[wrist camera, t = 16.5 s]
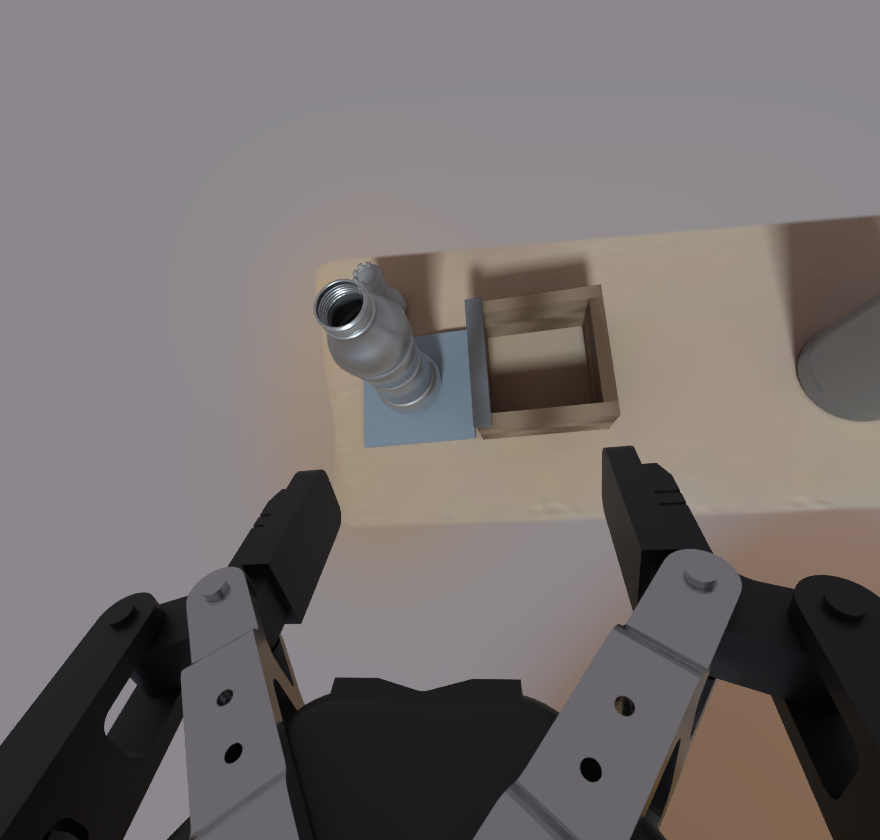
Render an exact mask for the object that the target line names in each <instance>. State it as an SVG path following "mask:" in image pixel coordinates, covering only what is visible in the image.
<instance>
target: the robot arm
mask: <svg viewBox="0 0 880 840" xmlns="http://www.w3.org/2000/svg"><path fill="white" fill-rule="evenodd" d="M797 370H798V378H799V380H800V383H801V385H802V388H803V389H804V391H805V392H806V394H807V395H808V397H809V398H810V399H811V400H812V401H813V402H814V403H815V404H816V405H817V406H819V407H820V408H822V409H823V410H825V411H826V412H828V413H830V414H833V415H835V416H837V417H840V418H844V419H848V420H853V421H873V420H879V419H880V293H878V294H877V295H875V296H874V297H872V298H871V299H869V300H868V301H866V302H865V303H863V304H862V305H860V306H859V307H857V308H856V309H854V310H853V311H851V312H850V313H848V314H847V315H845V316H843V317H842V318H840V319H839V320H837V321H836V322H834V323H833V324H831V325H830V326H828V327H827V328H825V329H824V330H822V331H821V332H819V333H818V334H816V335H815V336H814V337H813V338H811V339H810V340H809V341H808V342H807V344H806V345H805V346H804V348H803V349H802V351H801V353H800V356H799V359H798V366H797ZM602 501H603V508H604V513H605V517H606V520H607V523H608V527H609V530H610V534H611V537H612V541H613V544H614V548H615V551H616V554H617V558H618V561H619V565H620V568H621V571H622V575H623V578H624V582H625V585H626V589H627V592H628V596H629V599H630V603H631V606H632V609H633V613H632V615H631V617H630V618H629V620H628V621H627V623H626V624H625V625H624V626H622V625H620V624H618V625H616V626H615V627H614V628H613V629H612V630H611V632H610V633H609V635H608V636H607V638H606V639H605V641H604V643H603V644H602V646H601V647H600V649H599V651H598V652H597V654H596V655H595V657H594V659H593V660H592V662H591V663H590V665H589V667H588V668H587V670H586V671H585V673H584V675H583V676H582V678H581V680H580V681H579V683H578V684H577V686H576V688H575V689H574V691H573V692H572V694H571V696H570V697H569V699H568V700H567V702H566V704H565V705H564V707H563V709H562V710H561V712H560V713H559V712H557V711H556V710H554V709H553V708H551V707H549V706H548V705H546V704H545V703H542V702H540V701H538V700H536V699H533V698H530V697H527V696H523V693H522V686H521V680H512V679H510V680H507V679H505V680H504V679H471V680H467V681H463V682H459V683H455V684H452V685H448V686H444V687H440V688H436V689H432V690H429V691H418V690H414V689H411V688H408V687H405V686H402V685H399V684H395V683H392V682H389V681H386V680H383V679H380V678H335V680H334V683H333V686H332V690H331V693H330V694H328V695H325V696H322V697H320V698H317V699H315V700H313V701H312V702H309V703H308V704H306V705H305V704H304V702H303V699H302V697H301V694H300V691H299V688H298V685H297V681H296V678H295V675H294V672H293V669H292V665H291V662H290V659H289V656H288V653H287V649H286V646H285V643H284V640H283V638H282V636H281V634H280V633H281V631H282V629H283V626H284V624H301V623H302V620H303V618H304V615H305V613H306V610H307V608H308V605H309V603H310V600H311V598H312V595H313V593H314V590H315V588H316V586H317V583H318V580H319V578H320V575H321V573H322V571H323V568H324V566H325V563H326V561H327V558H328V555H329V553H330V551H331V548H332V546H333V543H334V541H335V538H336V536H337V533H338V531H339V528H340V524H341V510H340V507H339V504H338V501H337V499H336V496H335V494H334V491H333V488H332V486H331V483H330V481H329V478H328V476H327V474H326V472H325V471H324V470H309V471H299V472H297V473H296V474H295V475H294V477H293V479H292V480H291V482H290V484H289V485H288V487H287V489H282V490H281V491H280V492H279V493H277V494H276V495H275V496H274V497H273V498H272V499H271V500H270V501H269V502H268V503H267V505H266V506H265V508H264V510H263V511H262V513H261V514H260V517H259V518H258V519H257V521H256V522H255V524H254V528H252V529H251V530H250V532H249V533H248V535H247V537H246V538H245V540H244V541H243V543H242V545H241V546H240V548H239V549H238V551H237V553H236V554H235V556H234V558H233V559H232V561H231V562H230V564H229V565H228V567H225V568H221V569H218V570H216V571H214V572H212V573H210V574H208V575H207V576H205V577H204V578H203V579H201V580H200V581H199V582H198V583H197V584H196V585H195V586H194V587H193V589H192V590H191V592H190V593H189V595H188V596H186V597H182V598H179V599H176V600H173V601H170V602H166V603H163V604H159V603H158V602H157V601H156V599H155V598H154V597H153V596H152V595H151V594H149V593H136V594H133V595H130V596H128V597H125V598H123V599H121V600H120V601H118V602H117V603H115V604H114V605H112V606H111V607H110V608H108V609H107V610H106V611H105V612H104V613H103V614H102V615H101V616H100V617H99V619H98V620H97V621H96V623H95V624H94V625H93V626H92V628H91V629H90V630H89V632H88V633H87V634H86V635H85V637H84V638H83V639H82V641H81V642H80V643H79V645H78V646H77V647H76V648H75V650H74V651H73V652H72V654H71V655H70V656H69V658H68V659H67V660H66V661H65V663H64V664H63V665H62V667H61V668H60V669H59V670H58V672H57V673H56V674H55V676H54V677H53V678H52V679H51V681H50V682H49V683H48V685H47V686H46V687H45V688H44V690H43V691H42V692H41V694H40V695H39V696H38V698H37V699H36V700H35V701H34V703H33V704H32V705H31V707H30V708H29V710H28V711H27V712H26V713H25V714H24V716H23V717H22V718H21V720H20V721H19V722H18V723H17V725H16V726H15V727H14V729H13V730H12V731H11V733H10V734H9V735H8V736H7V738H6V739H5V740H4V742H3V743H2V744H1V746H0V840H123V839H124V836H125V834H126V832H127V830H128V828H129V826H130V824H131V822H132V820H133V818H134V816H135V814H136V812H137V810H138V808H139V806H140V804H141V802H142V800H143V798H144V796H145V794H146V792H147V790H148V788H149V785H150V783H151V781H152V779H153V777H154V775H155V773H156V771H157V769H158V767H159V765H160V763H161V761H162V759H163V757H164V755H165V753H166V751H167V749H168V746H169V745H170V743H171V741H172V739H173V737H174V735H175V732H176V731H177V728H178V727H179V724H180V722H181V720H182V718H184V732H185V748H186V763H187V776H188V791H189V806H190V817H189V818H188V819H187V820H186V821H185V822H184V823H183V824H182V825H181V826H180V827H179V828H178V829H177V830H176V831H175V832H174V833H173V834H172V835H171V836H170V837H169V838H168V839H167V840H666V838H665V837H664V836H663V835H662V833H661V832H660V831H659V828H660V825H661V822H662V820H663V818H664V816H665V813H666V811H667V808H668V805H669V803H670V801H671V798H672V795H673V793H674V790H675V788H676V785H677V783H678V780H679V777H680V775H681V772H682V769H683V766H684V763H685V759H686V756H687V754H688V751H689V748H690V746H691V743H692V741H693V738H694V736H695V733H696V731H697V728H698V726H699V723H700V721H701V719H702V716H703V714H704V711H705V709H706V706H707V704H708V701H709V699H710V696H711V694H712V692H713V689H714V687H715V684H716V682H717V679H720V680H724V681H727V682H730V683H733V684H737V685H741V686H743V687H747V688H750V689H753V690H756V691H760V692H763V693H766V694H770V695H771V697H772V698H773V701H774V703H775V706H776V708H777V710H778V713H779V715H780V717H781V719H782V722H783V724H784V726H785V729H786V731H787V734H788V736H789V738H790V741H791V743H792V745H793V748H794V750H795V752H796V755H797V757H798V759H799V761H800V764H801V766H802V768H803V771H804V773H805V775H806V778H807V780H808V782H809V785H810V787H811V789H812V792H813V794H814V796H815V799H816V801H817V803H818V806H819V808H820V810H821V813H822V815H823V817H824V819H825V822H826V824H827V827H828V829H829V831H830V834H831V836H832V838H833V840H880V597H878V596H877V595H876V594H874V593H873V592H871V591H870V590H868V589H866V588H865V587H863V586H861V585H859V584H857V583H854V582H852V581H849V580H847V579H843V578H840V577H835V576H829V575H814V576H809V577H806V578H804V579H802V580H801V581H799V583H798V584H797V585H796V587H795V589H791V588H787V587H782V586H777V585H773V584H768V583H763V582H759V581H755V580H752V579H749V578H746V577H744V576H741V575H739V574H738V573H737V572H736V570H735V569H734V568H733V567H732V566H731V565H730V564H729V563H728V562H726V561H725V560H724V559H722V558H720V557H718V556H716V555H714V554H713V552H712V551H711V549H710V547H709V545H708V543H707V541H706V539H705V537H704V536H703V534H702V532H701V530H700V528H699V526H698V524H697V522H696V520H695V518H694V516H693V514H692V513H691V511H690V509H689V507H688V505H686V501H685V499H684V497H683V495H682V493H680V490H679V488H678V486H677V484H676V482H675V480H674V478H673V476H672V475H671V474H670V473H669V472H667V471H666V470H665V469H664V468H662V467H661V466H660V465H658V464H657V463H649V464H641V461H640V459H639V457H638V455H637V453H636V450H635V448H634V447H633V446H621V447H608V448H603V451H602ZM129 678H131V679H132V680H133V681H134V682H135V683H136V684H137V686H136V688H135V690H134V691H133V693H132V695H131V696H130V698H129V700H128V701H127V703H126V704H125V706H124V708H123V709H122V711H121V713H120V714H119V716H118V718H117V719H116V721H115V723H114V724H113V726H112V728H111V729H110V731H109V733H108V734H107V736H106V735H105V732H104V722H105V718H106V716H107V713H108V711H109V710H110V708H111V706H112V705H113V703H114V702H115V700H116V698H117V697H118V695H119V694H120V692H121V690H122V689H123V687H124V686H125V684H126V682H127V681H128V679H129Z"/></svg>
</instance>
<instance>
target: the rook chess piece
mask: <svg viewBox="0 0 880 840" xmlns="http://www.w3.org/2000/svg"><path fill="white" fill-rule="evenodd" d="M358 268H359V269H358V270H354V272H353V275H354V278H353V281H355V282H357V283H358V284H359V285H361V286H362V288H363V289H364V290H365V291H366V292H368V293H369V294H370V295H379V296H383V297H385V298H387V299H389V300H391V301H393V302H395V303H396V304H397V305H399V306H400V307H401V308H402V310H403V311H404V312H406V309H407V305H406V300H405V298H404V297H403V295H402V294H401V293H400V291H398V290H396V289H395V288H393V287H389V286H387V285H386V280H385V279H384V276H383V271H382V270H381V268H380V267H379V266H377V265H375V264H371V263H370V262H366V265H362V264H359V265H358Z"/></svg>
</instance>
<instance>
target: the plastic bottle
mask: <svg viewBox="0 0 880 840" xmlns="http://www.w3.org/2000/svg"><path fill="white" fill-rule="evenodd" d="M314 315H315V317H316V319H317V321H318V323H319V324H320V325H321V326H322V327H323V328H324V329H325V331H326V332H327V342H328V347H329V350H330V353H331V355H332V358H333V359H334V361H335V362H336V364H337V365H338V366H339V367H341V368H342V369H343V370H345V371H346V372H348V373H350V374H351V375H354V376H356V377H358V378H360V379H363V380H365V381H366V382H368V383H369V384H371V385H372V386H373V387H374V388H375V389H376V391H377V393H378V395H379V397H380V399H381V400H382V402H383V403H384V405H385V406H387V407H388V408H389V409H390V410H392V411H394V412H397V413H400V414H405V415H414V414H418V413H421V412H423V411H425V410H427V409H428V408H429V407H431V406H432V405H433V404H434V402H435V401H436V399H437V398H438V396H439V393H440V389H441V376H440V372H439V369H438V367H437V365H436V364H435V363H434V361H433V360H431V359H430V358H429V357H428V356H427V355H426V354H424V353H422V352H421V351H420V350H419V348H418V347H417V345H416V343H415V341H414V338H413V334H412V330H411V326H410V323H409V321H408V318H407V316H406V314H405V312H404V311H403V310H402V308H401V307H400V306H399V305H397V304H396V303H395V302H393V301H391V300H389V299H387V298H385V297H383V296H379V295H370V294H369V293H368V292H366V291H365V290H364V289H363V288H362V286H361V285H359V284H358V283H357V282H355V281H353V280H349V279H340V280H336V281H333V282H331V283H329V284H328V285H326V286H325V287H324V288H323V289H322V290H321V291H320V292H319V294H318V295H317V297H316V299H315V303H314Z"/></svg>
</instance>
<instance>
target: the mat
mask: <svg viewBox="0 0 880 840" xmlns="http://www.w3.org/2000/svg"><path fill="white" fill-rule="evenodd" d="M413 338H414V341H415V343H416V345H417V347H418V348H419V350H420V351H421V352H422V353H424V354H426V355H427V356H428V357H429V358H430V359H431V360H433V361H434V363H435V364H436V365H437V367H438V369H439V372H440V376H441V389H440V393H439V396H438V398H437V399H436V401H435V402H434V404H433V405H432V406H431V407H429V408H428V409H427V410H425V411H423V412H421V413H418V414H414V415H405V414H400V413H397V412H394V411H392V410H390V409H389V408H388V407H387V406H385V405H384V403H383V402H382V400H381V399H380V397H379V395H378V393H377V391H376V389H375V388H374V387H373V386H372V385H371V384H369V383H368V382H366V381H365V380H364V447H366V448H370V447H382V446H393V445H405V444H416V443H427V442H439V441H450V440H462V439H473V438H476V434H475V428H474V426H473V414H472V399H471V385H470V370H469V356H468V342H467V330H460V331H452V332H445V333H437V334H430V335H422V336H415V337H413Z"/></svg>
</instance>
